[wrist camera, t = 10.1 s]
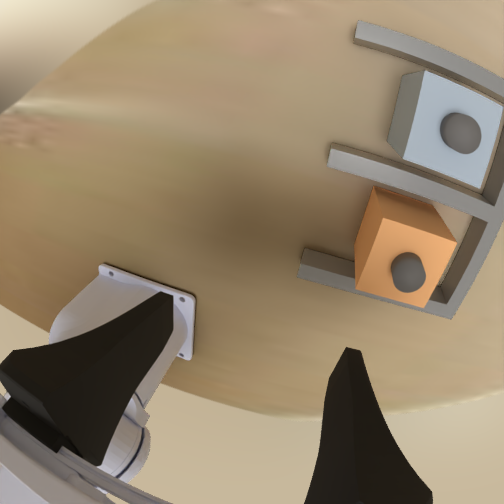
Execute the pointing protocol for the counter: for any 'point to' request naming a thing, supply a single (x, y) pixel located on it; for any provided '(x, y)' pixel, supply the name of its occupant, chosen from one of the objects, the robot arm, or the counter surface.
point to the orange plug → (401, 248)
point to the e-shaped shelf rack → (423, 181)
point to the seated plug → (444, 126)
